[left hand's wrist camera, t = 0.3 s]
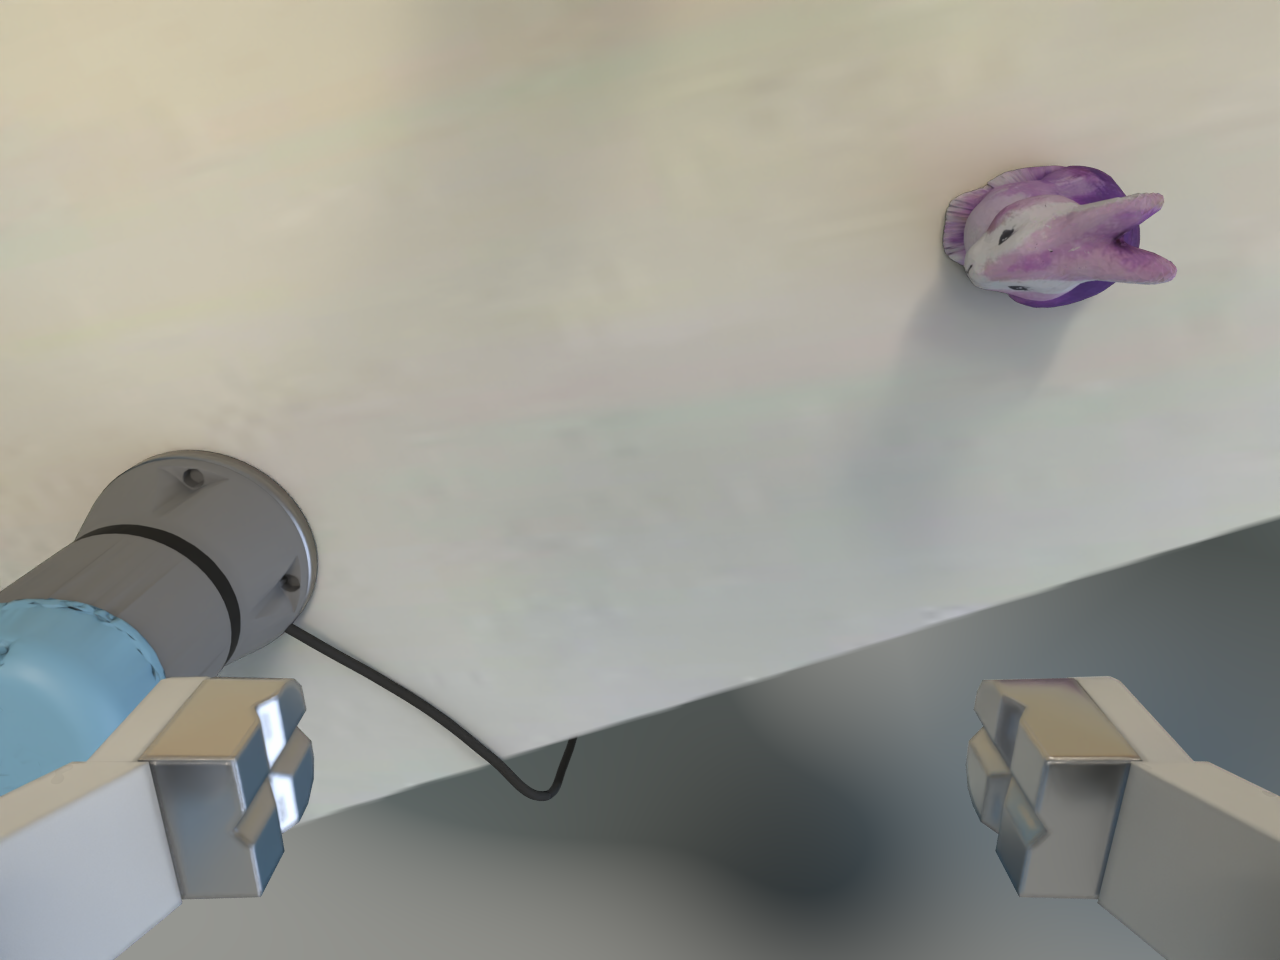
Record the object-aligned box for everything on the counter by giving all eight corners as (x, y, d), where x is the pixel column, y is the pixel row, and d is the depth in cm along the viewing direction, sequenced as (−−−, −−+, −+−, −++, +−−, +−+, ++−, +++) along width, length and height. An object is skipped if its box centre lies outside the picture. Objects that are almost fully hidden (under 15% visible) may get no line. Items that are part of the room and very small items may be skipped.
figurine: (900, 238, 55) (991, 268, 41) (1037, 117, 52) (1183, 103, 38) (988, 347, 57) (1103, 410, 43) (1123, 235, 55) (1291, 264, 41)
